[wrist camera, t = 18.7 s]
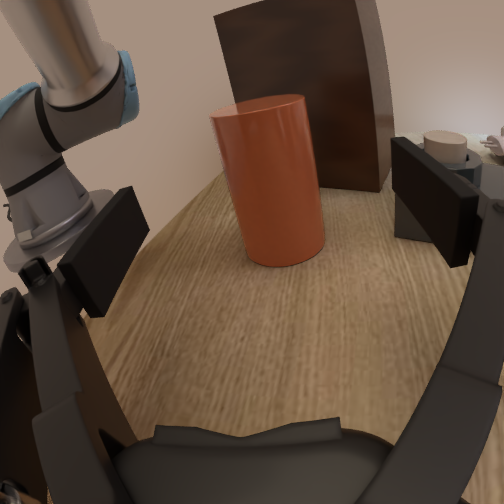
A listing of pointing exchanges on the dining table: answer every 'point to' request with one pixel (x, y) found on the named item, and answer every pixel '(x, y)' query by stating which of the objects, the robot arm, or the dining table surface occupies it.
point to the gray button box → (480, 174)
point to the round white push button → (446, 146)
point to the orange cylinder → (272, 177)
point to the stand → (319, 78)
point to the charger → (496, 143)
